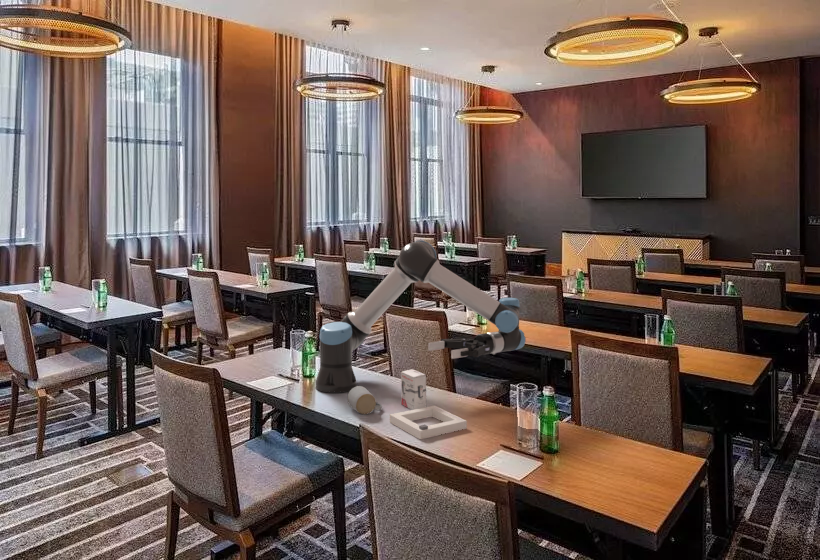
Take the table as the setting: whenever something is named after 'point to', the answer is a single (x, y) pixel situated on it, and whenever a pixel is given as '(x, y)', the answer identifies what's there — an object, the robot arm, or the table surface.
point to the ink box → (413, 389)
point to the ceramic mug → (362, 400)
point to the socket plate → (424, 431)
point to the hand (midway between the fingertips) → (439, 350)
